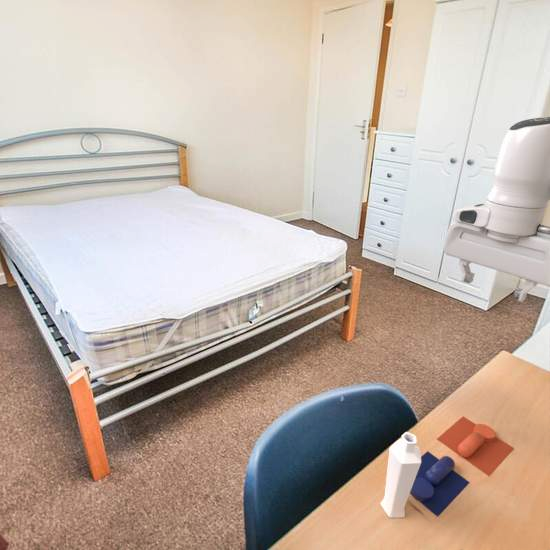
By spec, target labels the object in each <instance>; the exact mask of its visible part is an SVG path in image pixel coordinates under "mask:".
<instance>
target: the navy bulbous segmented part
mask: <svg viewBox="0 0 550 550" xmlns="http://www.w3.org/2000/svg"><path fill="white" fill-rule="evenodd" d="M455 467H456V464H455V460H454V459H453V458H452V457H451V456H448V455H443V456H442V457H440V458H439V461H438V462H436V463H435V464H434V465H433V466H432V467H431V468H430V469H429V470H428V471H427V472H426V474H425V479H426V480H425V479H423V478H415V480H414V483H413V486H412V488H411V491H410V492H411V494H410V495H412V497H413V498H414V500H416V501H418V502H420V501H421V502H429V501H431V500H432V498H433V494H434V488H433V486H436V485H438V484H439V483H440V482H441V481H442V480H443V479H444V478H445V477H446V476H447V475H448V474H449V473H450V472H451V471H452V470H454V469H455ZM432 485H433V486H432ZM421 502H420V503H421Z"/></svg>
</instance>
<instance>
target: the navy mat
mask: <svg viewBox="0 0 550 550" xmlns="http://www.w3.org/2000/svg"><path fill="white" fill-rule="evenodd" d="M439 460H440V458H438V457H436V456H435V455H433V453H432V452H430V451H428V450H427V451H426V452H425V453H424V454H422V455H421V465H420V467H419V470H418V473H417V475H416V478H423V479H425V474H426V472H427V471H428V470H429V469H430V468H431V467H432V466H433V465H434V464H435V463H436V462H438V461H439ZM425 480H426V479H425ZM469 484H470V481H469V480H467V479H466V478H465V477H463V476H462V475H461V474H459V473H458V472H457V471H455V470H454V469H453V470H452V471H451V472H450V473H449V474H448V475H447V476H446V477H445V478H444V479H443V480H442V481H441V482H440V483H439V484H438V485H436V486H433V485H432V486H433V488H434V494H433V498H432V500H431V501H429V502H421V501H419V503H420V504H421V505H423V506H424V507H425V508H426V509H428V510H429V511H430V512H431V513H432V514H434V516H435V517H437V518H438V517H439V516H440V515H441V514H442V513H443V512H444V511H445V510H446V509H447V508H448V507H449V505H451V504H452V502H453V501H454V500H455V499H456V498H457V497H458V496H459V495H460V494H461V493H462V492H463V491H464V490H465V489H466V487H468V485H469ZM409 495H412V494H411V492H410V494H409Z"/></svg>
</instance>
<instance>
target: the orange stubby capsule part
mask: <svg viewBox="0 0 550 550" xmlns="http://www.w3.org/2000/svg"><path fill="white" fill-rule="evenodd" d="M494 437H496V432H495V430H494V429H493V428H491V426H489V425H487V424H484V423H476V425H475V427H474V430H473V432H472V433H471V434H470V435H469V436H468V437H467V438H466V439H465V440H464V441H463V442H461V443H460V444H459V446H458V452H459V454H460V455H461V456H463V457H469V456H471V455H472V454H473V453H474V452H475V451H476V450H477V449H478V448H479V447H480V446H481V445H482V444H483V443H484V442H486V443H490V442H492V441H493V440H494ZM460 455H459V456H460ZM461 456H460V457H461Z"/></svg>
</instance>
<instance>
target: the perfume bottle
mask: <svg viewBox="0 0 550 550" xmlns="http://www.w3.org/2000/svg"><path fill="white" fill-rule="evenodd" d="M417 439H418V438H417V435H415V434H413V433H412V432H409V431H405V432H404V433H403V434H401V437H400V438H399V439H398V440H396V441H395V442H394V443H393V444H391V445H390V446H389V449H388V459H387V460H388V461H387V468H386V476H385V477H386V478H385V487H384V488H385V489H384V497H383V499H382V500H381V501H380V506H381V508H382V509H383V510H384V512H385V513H386V516H388V518H391V519H393V518H394V519H395V518H405V517H406V515H405V514H406V510H405V507H406V504H407V501H408V499H409V497H410V495H411V494H410V491H411V488H412V486H413V483H414V480H415V478H416V475H417V473H418V470H419V467H420V465H421V456H422V453H421V448H420V447H419V445H416V444H417V443H418V440H417Z"/></svg>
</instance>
